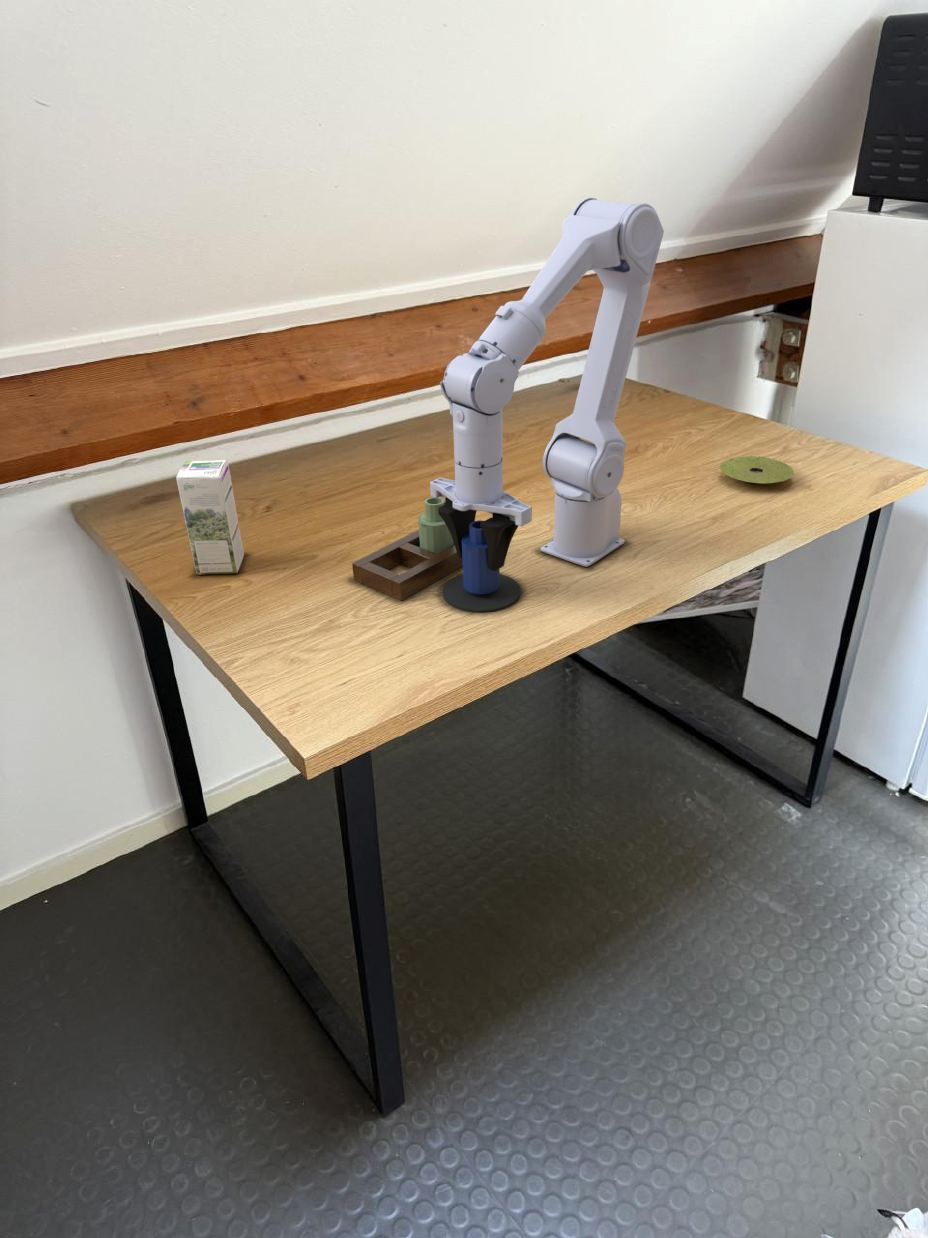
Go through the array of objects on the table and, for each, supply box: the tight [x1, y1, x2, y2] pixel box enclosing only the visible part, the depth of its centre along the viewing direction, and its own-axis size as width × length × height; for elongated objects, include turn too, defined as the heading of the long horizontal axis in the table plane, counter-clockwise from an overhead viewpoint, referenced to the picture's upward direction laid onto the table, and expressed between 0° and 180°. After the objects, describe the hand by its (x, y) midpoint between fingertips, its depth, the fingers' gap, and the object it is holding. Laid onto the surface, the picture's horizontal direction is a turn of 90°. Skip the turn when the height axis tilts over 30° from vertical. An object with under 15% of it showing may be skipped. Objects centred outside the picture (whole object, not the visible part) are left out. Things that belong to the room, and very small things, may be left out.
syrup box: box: [175, 459, 245, 576], centre depth 121 cm, size 6×6×14 cm
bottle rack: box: [351, 529, 463, 601], centre depth 122 cm, size 9×16×3 cm, turn 139°
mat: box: [719, 455, 795, 484], centre depth 144 cm, size 11×11×2 cm
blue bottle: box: [462, 519, 501, 594], centre depth 114 cm, size 5×5×8 cm
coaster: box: [442, 573, 522, 613], centre depth 116 cm, size 10×10×1 cm
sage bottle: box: [417, 496, 454, 554], centre depth 123 cm, size 5×5×8 cm
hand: (480, 561), depth 114 cm, fingers closed on blue bottle, 4 cm apart
